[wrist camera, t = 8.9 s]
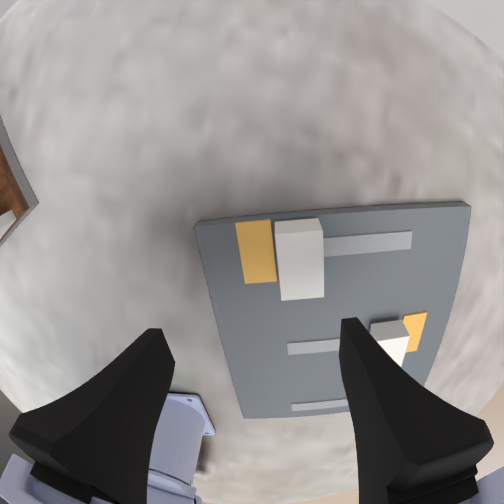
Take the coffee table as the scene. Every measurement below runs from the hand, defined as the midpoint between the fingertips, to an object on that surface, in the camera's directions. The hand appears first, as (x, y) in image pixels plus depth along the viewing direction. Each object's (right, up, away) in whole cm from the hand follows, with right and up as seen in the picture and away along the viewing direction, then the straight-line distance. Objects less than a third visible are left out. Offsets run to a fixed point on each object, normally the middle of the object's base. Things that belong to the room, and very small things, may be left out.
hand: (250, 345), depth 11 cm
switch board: (+7, -3, +10) cm, 12 cm away
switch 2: (+10, -3, +8) cm, 13 cm away
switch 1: (+3, +4, +6) cm, 7 cm away
